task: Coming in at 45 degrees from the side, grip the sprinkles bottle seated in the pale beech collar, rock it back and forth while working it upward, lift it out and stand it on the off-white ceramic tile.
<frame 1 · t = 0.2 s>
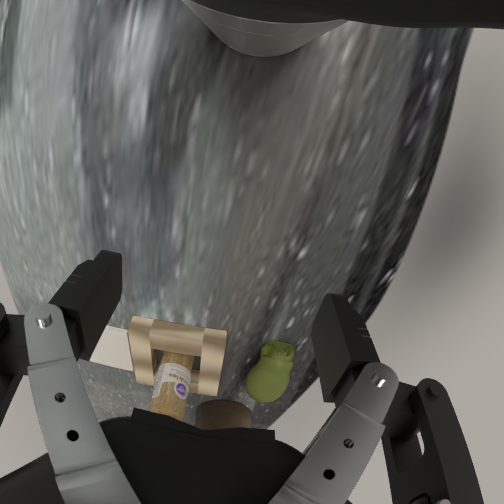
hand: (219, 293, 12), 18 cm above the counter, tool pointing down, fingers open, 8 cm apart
sprinkles bottle: (178, 352, 41), resting in collar
collar: (178, 353, 41), on the counter
pear: (270, 357, 41), on the counter
tile: (103, 344, 40), on the counter
pillar candle: (224, 411, 50), on the counter
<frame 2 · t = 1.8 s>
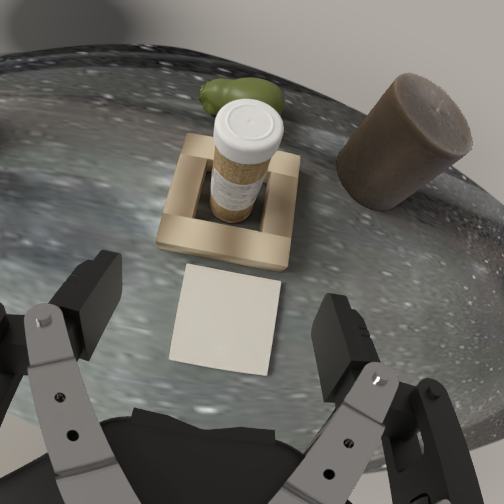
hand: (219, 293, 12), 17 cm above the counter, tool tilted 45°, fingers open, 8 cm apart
sprinkles bottle: (230, 204, 32), resting in collar
collar: (231, 204, 32), on the counter
pear: (238, 112, 35), on the counter
tile: (225, 320, 28), on the counter
pillar candle: (371, 176, 36), on the counter
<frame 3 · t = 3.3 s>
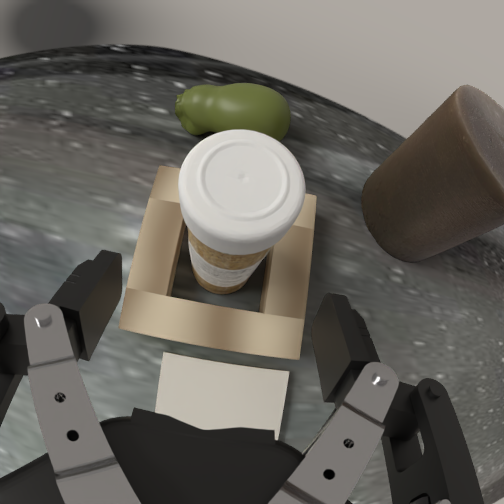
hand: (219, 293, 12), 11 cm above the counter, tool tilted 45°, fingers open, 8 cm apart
sprinkles bottle: (221, 266, 23), resting in collar
collar: (221, 265, 23), on the counter
pear: (228, 129, 27), on the counter
tile: (217, 420, 20), on the counter
pillar candle: (403, 214, 27), on the counter
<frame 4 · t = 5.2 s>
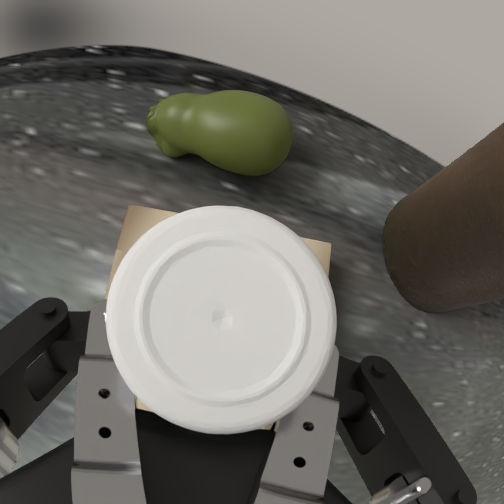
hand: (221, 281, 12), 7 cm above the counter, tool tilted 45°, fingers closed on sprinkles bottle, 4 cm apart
sprinkles bottle: (210, 331, 18), resting in collar, touching gripper
collar: (210, 331, 18), on the counter
pear: (215, 148, 22), on the counter
pillar candle: (429, 254, 22), on the counter
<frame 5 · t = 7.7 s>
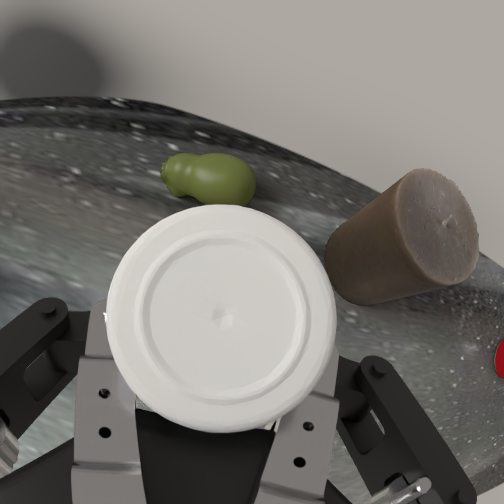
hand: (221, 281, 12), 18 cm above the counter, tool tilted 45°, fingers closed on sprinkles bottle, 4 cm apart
sprinkles bottle: (210, 330, 18), point 11 cm above the counter, touching gripper
pear: (206, 189, 33), on the counter
beverage can: (500, 357, 34), on the counter
pillar candle: (363, 263, 34), on the counter
when the fingers open (8 cm above the counter, at t = 10.4 s): sprinkles bottle drops 1 cm, resting on tile.
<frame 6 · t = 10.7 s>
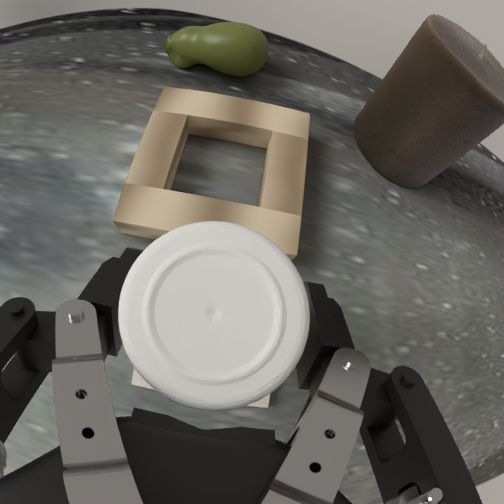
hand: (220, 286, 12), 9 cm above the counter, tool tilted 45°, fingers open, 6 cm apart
sprinkles bottle: (208, 334, 20), resting on tile
collar: (219, 174, 23), on the counter
pear: (213, 65, 27), on the counter
tile: (209, 332, 20), on the counter
pillar candle: (396, 147, 27), on the counter
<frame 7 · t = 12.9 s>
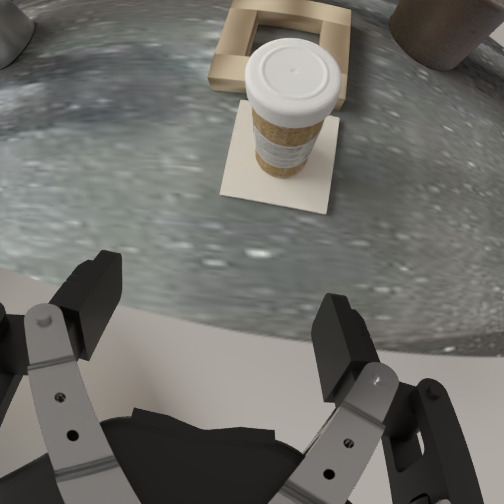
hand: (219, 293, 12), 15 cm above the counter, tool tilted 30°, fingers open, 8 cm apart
sprinkles bottle: (281, 155, 26), resting on tile
collar: (284, 50, 26), on the counter
tile: (281, 154, 26), on the counter
pillar candle: (425, 40, 26), on the counter
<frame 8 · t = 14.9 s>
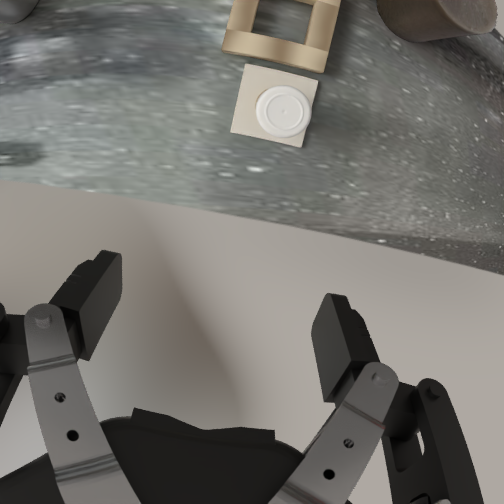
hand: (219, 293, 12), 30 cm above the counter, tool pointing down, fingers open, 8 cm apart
sprinkles bottle: (273, 106, 35), resting on tile
collar: (282, 19, 30), on the counter
tile: (273, 105, 35), on the counter
pillar candle: (408, 12, 28), on the counter
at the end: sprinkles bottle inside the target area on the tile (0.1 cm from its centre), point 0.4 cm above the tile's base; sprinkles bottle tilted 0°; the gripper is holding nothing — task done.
